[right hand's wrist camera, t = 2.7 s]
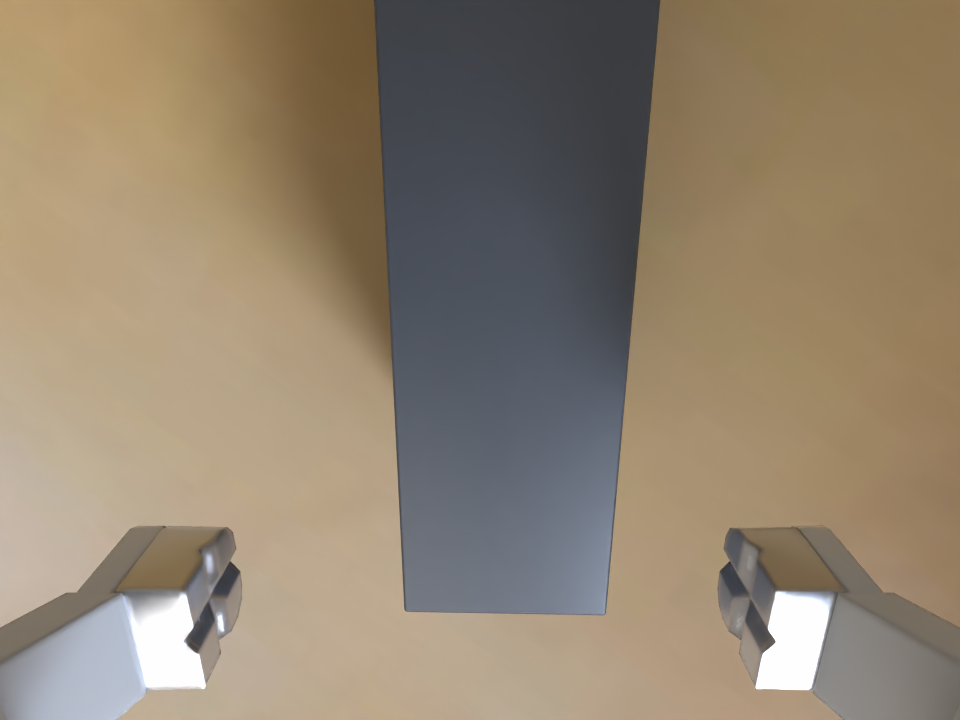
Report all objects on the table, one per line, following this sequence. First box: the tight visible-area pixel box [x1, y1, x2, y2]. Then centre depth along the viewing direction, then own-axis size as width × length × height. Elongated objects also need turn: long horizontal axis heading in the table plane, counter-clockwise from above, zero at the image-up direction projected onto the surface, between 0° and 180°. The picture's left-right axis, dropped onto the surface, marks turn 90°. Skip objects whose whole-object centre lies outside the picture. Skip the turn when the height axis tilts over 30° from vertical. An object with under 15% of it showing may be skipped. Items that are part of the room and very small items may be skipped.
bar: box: [374, 0, 660, 615], centre depth 14 cm, size 24×5×9 cm, turn 0°
